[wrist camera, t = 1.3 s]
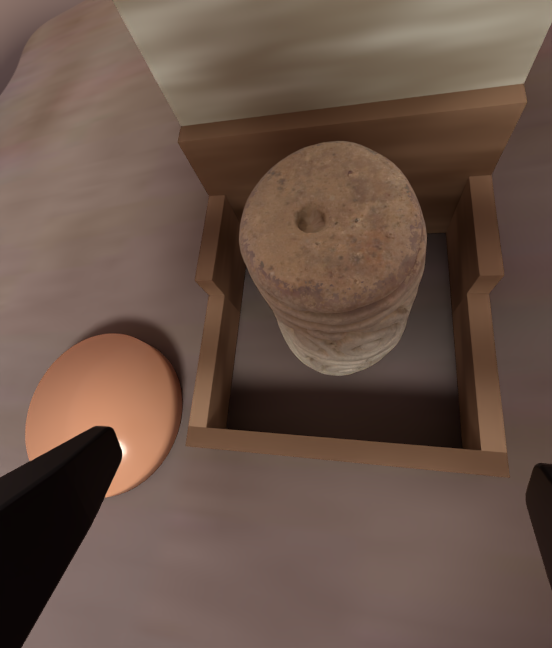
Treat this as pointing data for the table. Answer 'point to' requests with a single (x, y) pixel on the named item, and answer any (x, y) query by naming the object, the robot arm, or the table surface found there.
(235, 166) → the cold frame
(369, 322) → the carving
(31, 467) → the robot arm
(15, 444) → the table surface
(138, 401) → the terracotta saucer
